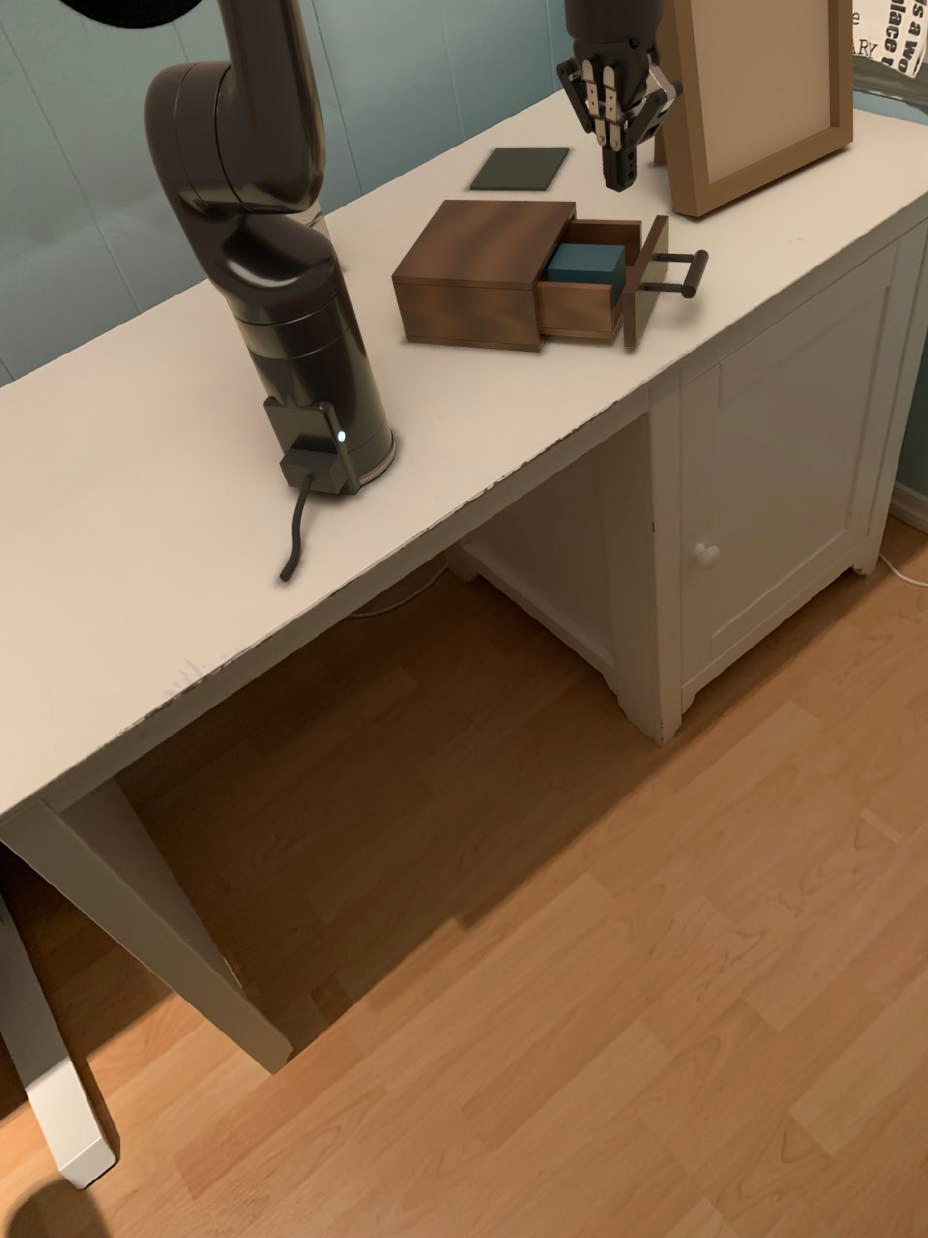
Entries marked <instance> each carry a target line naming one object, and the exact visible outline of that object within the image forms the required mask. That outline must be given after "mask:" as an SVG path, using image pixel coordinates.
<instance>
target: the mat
mask: <svg viewBox="0 0 928 1238" xmlns="http://www.w3.org/2000/svg"><path fill="white" fill-rule="evenodd" d="M569 151H570V147H495V148H494V149H493V152H492V153H491V154H490V156H489V157H488V159H487V161H486V162H485V163H484V164H483V166H482V168H481V169H480V170H479V172H478V174H477V175H476V176H475V177H474V178H473V180H472V182H471V183H470V185H469V190H474V191H475V190H479V191H480V190H483V191H484V190H485V191H486V190H487V191H489V190H491V191H497V190H498V191H547V189H548V187H549V185H550V183H551V182H552V180H553V179H554V177H555V176H556V174H557V172H558V170H559V169H560V167H561V166H562V163H563V161H564V160H565V158H566V156H567V155H568V153H569Z"/></svg>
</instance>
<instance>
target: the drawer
mask: <svg viewBox="0 0 928 1238" xmlns="http://www.w3.org/2000/svg"><path fill="white" fill-rule="evenodd" d="M669 217H670V216H669V215H668V214H656V216H655V218H654V220H653V222H652V225H651V227H650V229H649V231H648V234H647V236H646V238H645V240H644V243H643V228H642V227H643V226H642V225H643V224H642V222H643V221H642V220H639V219H638V220H633V219H596V218H595V219H593V218H577V219H571V220H570V222H569V223H568V225H567V227H566V229H565V231H564V233H563V234H562V236H561V238H560V240H559V242H558V244H557V246H556V247H555V249H554V251H553V253H552V255H551V257H550V258H549V260H548V262H547V264H546V266H545V268H544V270H543V271H542V273H541V275H540V277H539V279H538V281H537V282H536V284H535V291H536V300H537V308H538V316H539V325H540V333H541V334H549V335H552V336H565V337H577V338H578V337H579V338H594V339H607V340H608V339H609V340H612V339H613V338H614V335H615V333H616V331H617V328H618V327H619V323H620V322H621V319H622V329H623V330H622V331H623V333H622V334H623V348H631V349H636V348H637V347H638V345H639V342H640V339H641V337H642V335H643V332H644V331H645V328H646V325H647V323H648V320H649V317H650V315H651V313H652V310H653V307H654V305H655V303H656V300H657V298H658V295H659V293H671V294H672V293H674V294H681V296H682V297H683V298H685V299H693V298H694V297H695V296H696V295H697V291H698V290H699V289H698V288H699V286H700V284H701V281H702V278H703V275H704V273H705V269H706V267H707V265H708V262H709V259H710V255H709V252H708V251H707V250H706V249H697V251H695V252H694V253H693V254H692V253H669V230H670V229H669V227H670V226H669V225H670V223H669ZM560 244H591V245H621V246H625V273H626V283H625V285H624V288H623V290H622V292H621V294H620V297H619V299H618V301H617V303H616V306H615V308H613V296H612V285H605V284H584V283H564V282H549V280H548V270H547V268H548V266H549V264H550V263H551V261H552V259H553V257H554V255H555V253H556V251H557V250H558V248H559V246H560ZM669 263H676V264H677V263H678V264H679V263H680V264H690V265H689V267H688V270H687V273H686V275H685V278H684V281H683V284H682V283H669V282H664V280H665V278H666V276H667V273H668V271H669Z"/></svg>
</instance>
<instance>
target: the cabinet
mask: <svg viewBox="0 0 928 1238" xmlns="http://www.w3.org/2000/svg"><path fill="white" fill-rule="evenodd" d="M571 219H578V212H577V202H576V201H553V200H552V201H551V200H549V201H548V200H497V199H496V200H494V199H491V200H490V199H489V200H486V199H483V200H482V199H444V200H443V201H442V203H440V206H439V207H438V209H437V210H436V211H435V213H434V214H433V216H432V217H431V219H430V220H429V221H428V223H427V224H426V226H425V227H424V229H423V230H422V231H421V233H420V234H419V235H418V237H417V238H416V239H415V241H414V243H413V244H412V246H410V248H409V250H408V251H407V253H405V255H404V257H403V258H402V260H401V261H400V263H399V264H398V265H397V267H396V268H395V269H394V271H393V273H392V274H391V276H390V277H391V282H392V286H393V290H394V291H393V292H394V294H395V299H396V303H397V306H398V308H399V314H400V318H401V321H402V325H403V329H404V333H405V337H406V340H407V343H415V344H416V343H417V344H427V345H428V344H429V345H439V346H453V347H465V348H466V347H467V348H478V349H490V350H491V349H492V350H504V351H515V352H516V351H517V352H531V353H541V351H542V349H543V347H544V345H545V344H546V342H547V339H548V338H549V335H550V334H541V333H540V325H539V316H538V308H537V300H536V291H535V284H536V282H537V281H538V279H539V277H540V275H541V273H542V271H543V270H544V268H545V266H546V264H547V262H548V260H549V258H550V257H551V255H552V253H553V251H554V249H555V247H556V246H557V244H558V242H559V240H560V238H561V236H562V234H563V233H564V231H565V229H566V227H567V225H568V223H569V222H570V220H571Z"/></svg>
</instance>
